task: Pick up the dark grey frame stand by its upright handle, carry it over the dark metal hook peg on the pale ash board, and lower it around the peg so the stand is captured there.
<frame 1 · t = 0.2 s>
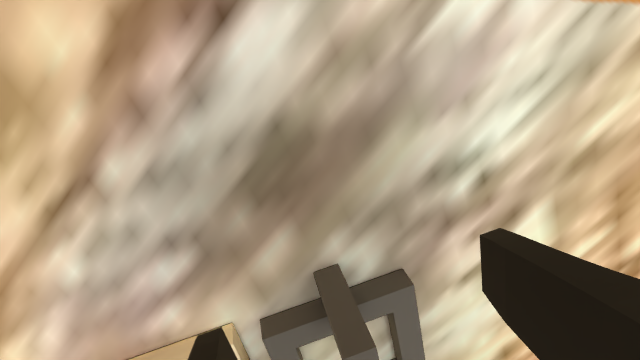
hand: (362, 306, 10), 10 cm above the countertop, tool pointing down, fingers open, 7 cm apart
dark grey frame stand: (347, 344, 25), on the countertop
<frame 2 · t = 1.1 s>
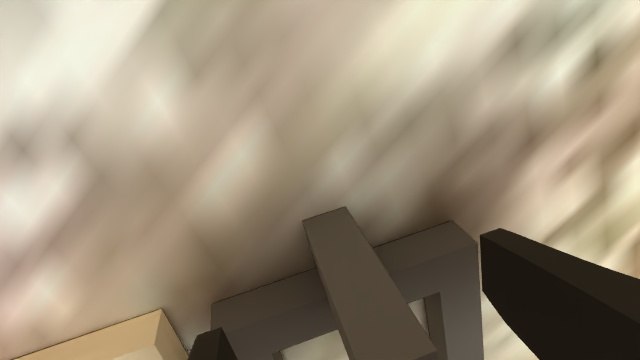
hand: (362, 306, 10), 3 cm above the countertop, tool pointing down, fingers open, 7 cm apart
dark grey frame stand: (359, 347, 15), on the countertop
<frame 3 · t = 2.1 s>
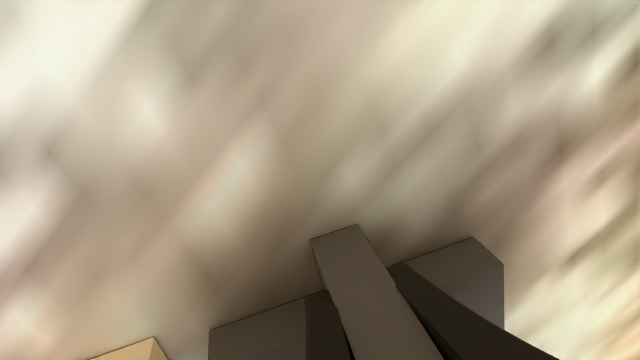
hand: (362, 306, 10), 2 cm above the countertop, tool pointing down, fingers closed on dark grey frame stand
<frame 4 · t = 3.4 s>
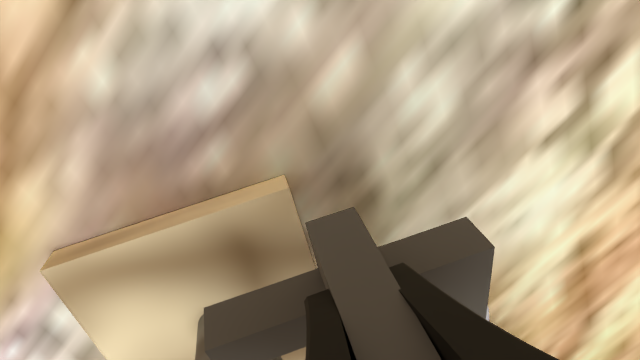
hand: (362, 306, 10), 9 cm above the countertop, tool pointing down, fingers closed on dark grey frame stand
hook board: (243, 352, 22), on the countertop
dark grey frame stand: (357, 337, 15), point 6 cm above the countertop, tilted 9°, touching gripper
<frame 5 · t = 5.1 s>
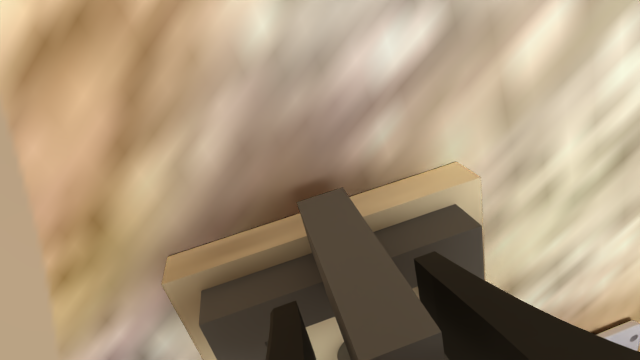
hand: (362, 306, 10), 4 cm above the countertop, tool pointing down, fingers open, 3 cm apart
dark grey frame stand: (357, 337, 15), point 1 cm above the countertop, touching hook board
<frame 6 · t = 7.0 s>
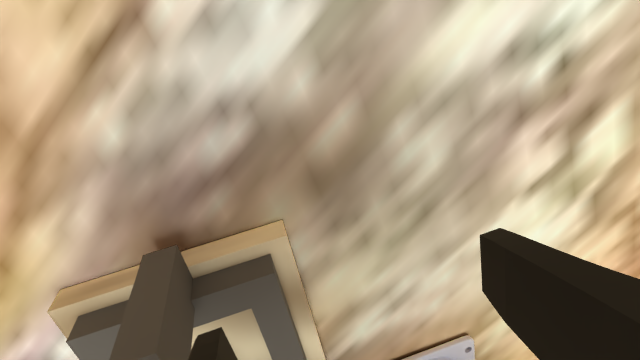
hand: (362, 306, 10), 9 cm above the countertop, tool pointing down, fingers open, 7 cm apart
dark grey frame stand: (210, 348, 20), point 1 cm above the countertop, touching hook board
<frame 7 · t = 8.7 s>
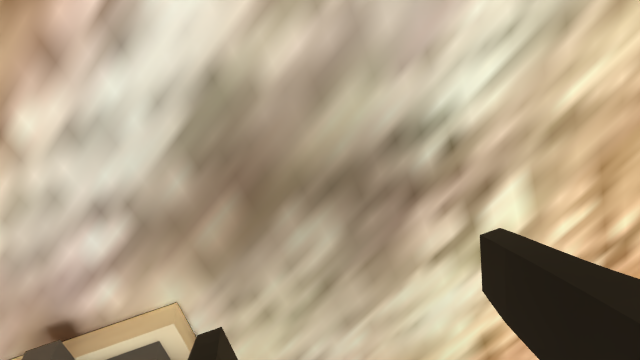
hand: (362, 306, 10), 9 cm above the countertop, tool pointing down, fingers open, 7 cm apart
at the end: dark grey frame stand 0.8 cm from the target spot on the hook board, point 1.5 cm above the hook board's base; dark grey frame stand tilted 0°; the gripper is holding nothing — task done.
